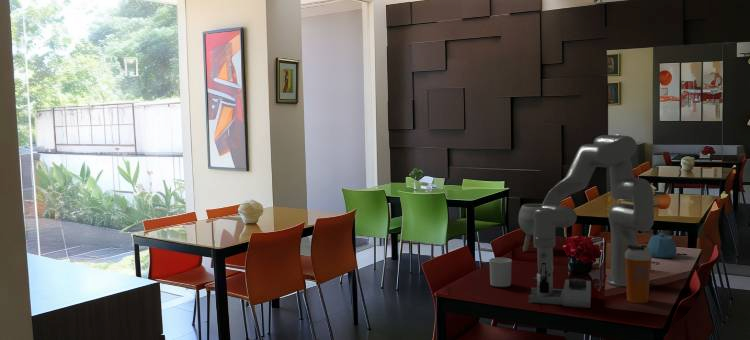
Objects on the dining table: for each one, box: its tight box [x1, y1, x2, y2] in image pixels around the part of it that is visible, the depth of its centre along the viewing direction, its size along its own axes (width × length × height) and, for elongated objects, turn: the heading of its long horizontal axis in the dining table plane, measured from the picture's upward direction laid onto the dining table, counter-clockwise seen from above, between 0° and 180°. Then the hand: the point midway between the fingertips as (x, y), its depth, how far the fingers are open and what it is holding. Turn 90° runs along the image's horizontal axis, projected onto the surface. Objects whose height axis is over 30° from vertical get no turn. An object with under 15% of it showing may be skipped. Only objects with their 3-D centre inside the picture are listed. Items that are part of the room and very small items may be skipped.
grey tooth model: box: [517, 203, 543, 252], centre depth 322 cm, size 16×16×22 cm
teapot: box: [646, 232, 678, 259], centre depth 303 cm, size 13×11×18 cm
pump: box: [532, 272, 554, 296], centre depth 241 cm, size 7×6×9 cm
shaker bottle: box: [625, 244, 652, 304], centre depth 235 cm, size 9×9×20 cm
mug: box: [488, 257, 513, 289], centre depth 261 cm, size 11×9×10 cm
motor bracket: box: [528, 278, 592, 309], centre depth 240 cm, size 21×17×8 cm
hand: (544, 290), depth 241 cm, fingers closed on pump, 5 cm apart
